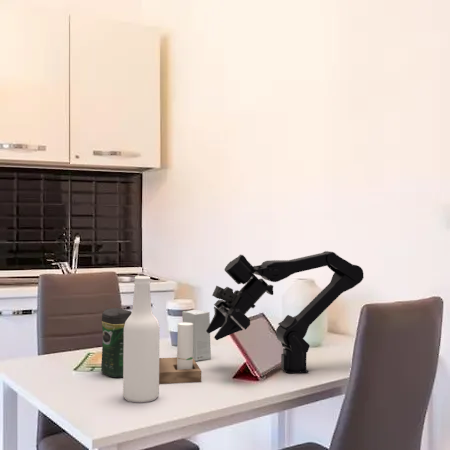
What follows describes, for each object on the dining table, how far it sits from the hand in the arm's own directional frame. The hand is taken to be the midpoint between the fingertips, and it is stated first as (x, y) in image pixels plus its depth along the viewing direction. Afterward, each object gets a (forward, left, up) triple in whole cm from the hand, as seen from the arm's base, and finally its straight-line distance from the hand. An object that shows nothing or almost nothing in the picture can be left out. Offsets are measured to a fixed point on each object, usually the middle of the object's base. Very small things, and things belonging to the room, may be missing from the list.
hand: (211, 335), depth 165 cm
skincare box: (+1, -21, -12) cm, 24 cm away
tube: (+7, +1, -12) cm, 14 cm away
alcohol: (+21, +17, -12) cm, 29 cm away
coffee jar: (+26, -6, -12) cm, 29 cm away
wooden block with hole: (+11, -2, -11) cm, 16 cm away
